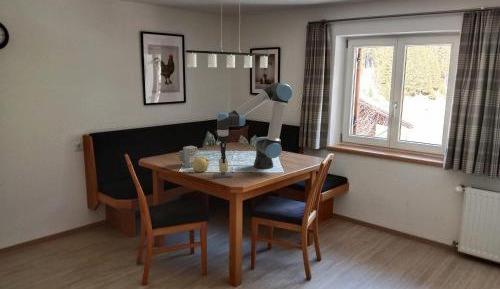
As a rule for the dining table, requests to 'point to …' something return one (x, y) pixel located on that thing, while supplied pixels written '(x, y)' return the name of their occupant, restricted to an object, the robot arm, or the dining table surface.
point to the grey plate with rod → (223, 174)
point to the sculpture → (200, 164)
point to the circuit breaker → (188, 155)
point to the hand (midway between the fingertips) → (223, 165)
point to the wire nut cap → (221, 166)
